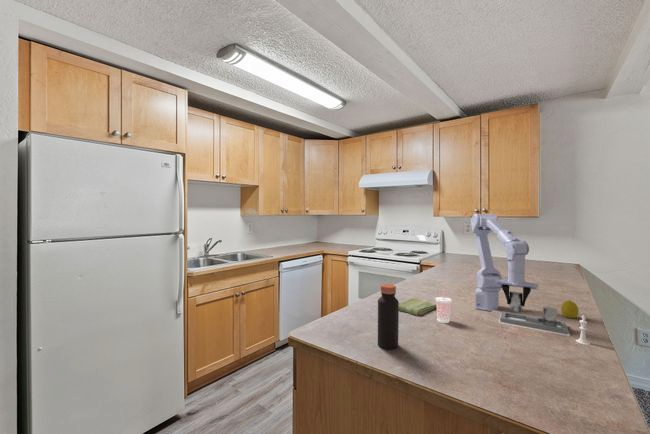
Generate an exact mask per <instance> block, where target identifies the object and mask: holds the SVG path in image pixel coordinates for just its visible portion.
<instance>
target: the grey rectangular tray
mask: <svg viewBox="0 0 650 434" xmlns="http://www.w3.org/2000/svg"><path fill="white" fill-rule="evenodd" d="M497 323H498V324H503V325H509V326H513V327H517V328H518V327H519V328H524V329H530V330H535V331H539V332H546V333H551V334H556V335H562V336H565V337H566V336H567V337H571V334H570V331H569V329H568V326H567V323H566V321H562V320H559V319H557V327H554V326H549V325H543V317H539V316H535V315H534V316H533V315H528V314H521V313H517V312H516V313H515V312H509V311H503V310H502V311H501V313H500V315H499V320H498V322H497Z"/></svg>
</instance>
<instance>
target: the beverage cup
mask: <svg viewBox="0 0 650 434" xmlns="http://www.w3.org/2000/svg"><path fill="white" fill-rule="evenodd" d="M435 302H436V304H435V305H437V307H436V319H437V322H439V323H443V324H448V323H450V316H451V308H452V307H451V304H452V298H451V297H445V286H442V296H438V297H437V296H436V297H435Z"/></svg>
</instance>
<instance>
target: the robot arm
mask: <svg viewBox="0 0 650 434" xmlns="http://www.w3.org/2000/svg"><path fill="white" fill-rule="evenodd" d="M470 224H471V230H472V233H473V234H474V237H475V242H476V247H477V253H478V258H479V262H480V268H481V269H479V271H477V273H476V285H477V287H476V289H475V301H474V303H475V304H474V306H475V307H474V308H475V309H477V310H482V311H487V312H493V310H499V306H500V305H499V304H500V303H499V302H500V300H499V299H500V298H499V297H500V295H499V294H500V291H501V290H502V291H503V293H504V295H505V299H506V304H507V305H509V299H510V287H514V288H522V293H523V299H522V308H523V307H525V305H526V301H527V298H528V297H529V295H530V294H531V291H532V290H536V291H538V290H539V284H538V283H533V282H527V281H526V279H525V278H526V276H525V275H526V256H527V255H528V254H529V252H530V246H529V244H528V242H527V241H525V240H520V239H519V238H518V237H517V236H515V234H513V232H512V231H511V230H509V229H504V227H503V226H502V225H501V223H500V222H499V219H498V216H497V215H496V214H495V213H491V214H490V213H489V214H488V213H487V214H486V213H482V214H479V213H474V214H472V216H471V219H470ZM492 232H493V233H494V234H496V237H497V240H498V241H499V242H500V244H502V245H503V247H504V251H505V254H506V259H507V260H508V261H507V279H504V278H503V277H502V275H501V272H500V271H499V270H498V269H497V268H495V265H494V261H493V256H492V252H491V248H490V247H491V246H490V243H489V237H488V234H490V233H492Z"/></svg>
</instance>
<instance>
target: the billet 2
mask: <svg viewBox="0 0 650 434" xmlns="http://www.w3.org/2000/svg"><path fill="white" fill-rule="evenodd" d="M542 318H543V325H549V326H554V327H557V320H558V309H557V308H556V307H551V306H542Z"/></svg>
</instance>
